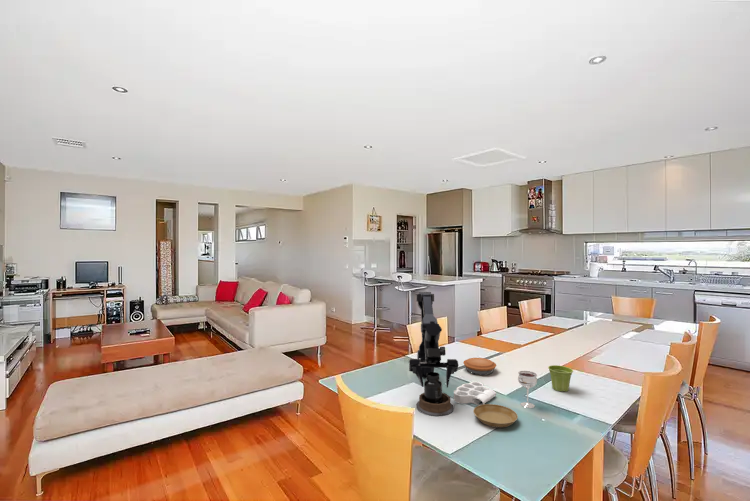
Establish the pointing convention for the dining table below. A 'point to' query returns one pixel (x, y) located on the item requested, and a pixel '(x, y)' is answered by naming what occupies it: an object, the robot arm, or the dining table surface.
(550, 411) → the dining table surface
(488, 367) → the pie
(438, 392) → the supplement bottle
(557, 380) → the plant pot
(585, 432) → the dining table surface
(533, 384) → the wineglass
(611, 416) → the dining table surface
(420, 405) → the walnut collar
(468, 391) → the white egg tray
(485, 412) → the plant saucer
